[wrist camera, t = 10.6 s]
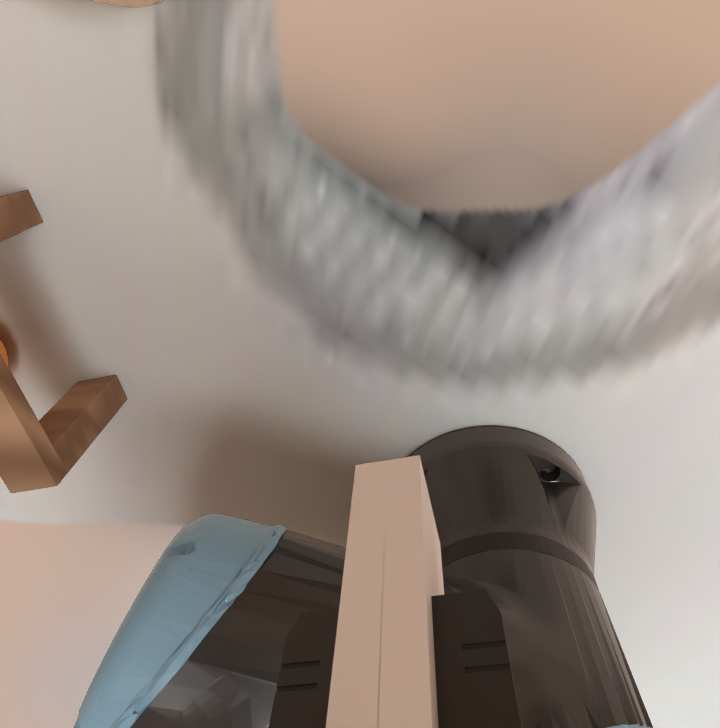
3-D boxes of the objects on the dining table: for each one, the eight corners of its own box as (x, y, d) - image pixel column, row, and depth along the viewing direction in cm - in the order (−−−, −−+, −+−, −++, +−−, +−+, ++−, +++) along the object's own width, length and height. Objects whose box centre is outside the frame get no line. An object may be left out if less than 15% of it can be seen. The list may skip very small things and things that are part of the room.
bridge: (127, 399, 42) (57, 485, 34) (89, 405, 43) (11, 493, 34) (27, 189, 36) (-91, 231, 27) (-16, 200, 36) (-145, 244, 28)
